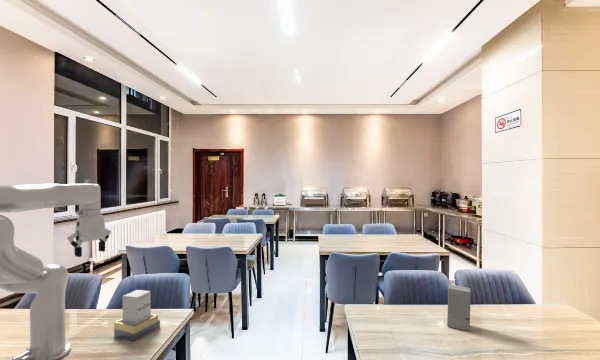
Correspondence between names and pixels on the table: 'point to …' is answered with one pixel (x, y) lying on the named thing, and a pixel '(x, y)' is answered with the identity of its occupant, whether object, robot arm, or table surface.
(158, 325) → the gold-rimmed shallow tray
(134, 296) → the supplement box
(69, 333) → the table surface
